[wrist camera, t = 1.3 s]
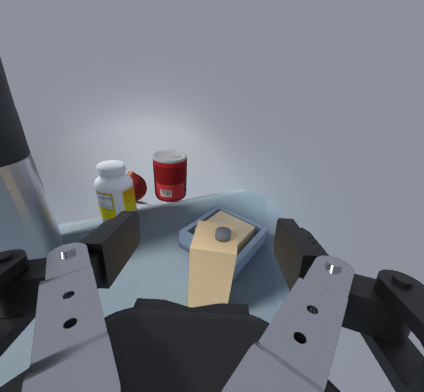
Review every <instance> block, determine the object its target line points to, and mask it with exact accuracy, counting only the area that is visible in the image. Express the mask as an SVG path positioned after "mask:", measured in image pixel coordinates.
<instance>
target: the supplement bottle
mask: <svg viewBox="0 0 424 392" xmlns="http://www.w3.org/2000/svg"><path fill="white" fill-rule="evenodd" d="M96 167H97V173H98V174H99V175H100V176H99V177H98V178H97V179H96V180H95V183H94V186H95V190H96V194H97V199H98V203H99V207H100V211H101V216H102V220H103V223H104V222H105V221H108V220H110V219H112V218H114V217H115V216H117V215H118V214H119V213H120V212H121V211H136V212H137V208H136V201H135V193H134V186H133V180H132V178H131V177H130V176H129V175H128V174H125V170H126V169H125V164H124V162H121V161H117V160H109V161H104V162H101V163H99V164H98V165H97V166H96Z"/></svg>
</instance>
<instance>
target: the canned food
mask: <svg viewBox="0 0 424 392" xmlns="http://www.w3.org/2000/svg"><path fill="white" fill-rule="evenodd" d="M153 169H154V182H155V194H156V196H157V198H158V199H159V200H162V201H166V202H175V201H179V200H181V199H183V198H184V197H185V195H186V177H187V156H186V154H185V153H183V152H180V151H173V150H165V151H159V152H156V153H154V154H153Z"/></svg>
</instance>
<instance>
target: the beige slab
mask: <svg viewBox="0 0 424 392" xmlns="http://www.w3.org/2000/svg"><path fill="white" fill-rule="evenodd" d="M206 221H207V222H214V223H222V224H229V225H236V226H238V238H237V255H238V254H239V253H240V252H241V251H242V250H243V248H244V247H245V246H246V245H247V244H248V243H249V242H250V241H251V240H252V238H253V234H254V229H255V227H254V226H252V225H250V224H248V223H246V222H244V221H242V220H240V219H237V218H235V217H233V216H231V215H229V214H227V213H225V212H223V211H221V210H220V211H219V212H218V213H216V214H215V215H213V216H212V217H210V218H209V219H208V220H206ZM195 230H196V228H195Z"/></svg>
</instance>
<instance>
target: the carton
mask: <svg viewBox="0 0 424 392" xmlns="http://www.w3.org/2000/svg"><path fill="white" fill-rule="evenodd" d="M237 238H238V226H236V225H229V224H222V223H214V222H207V221H200V220H198V223H197V227H196V230H195V233H194V236H193V239H192V243H191V246H190V259H189V293H188V307H199V306H205V305H212V304H218V303H227V304H228V301H229V295H230V290H231V285H232V279H233V274H234V268H235V263H236V258H237Z"/></svg>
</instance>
